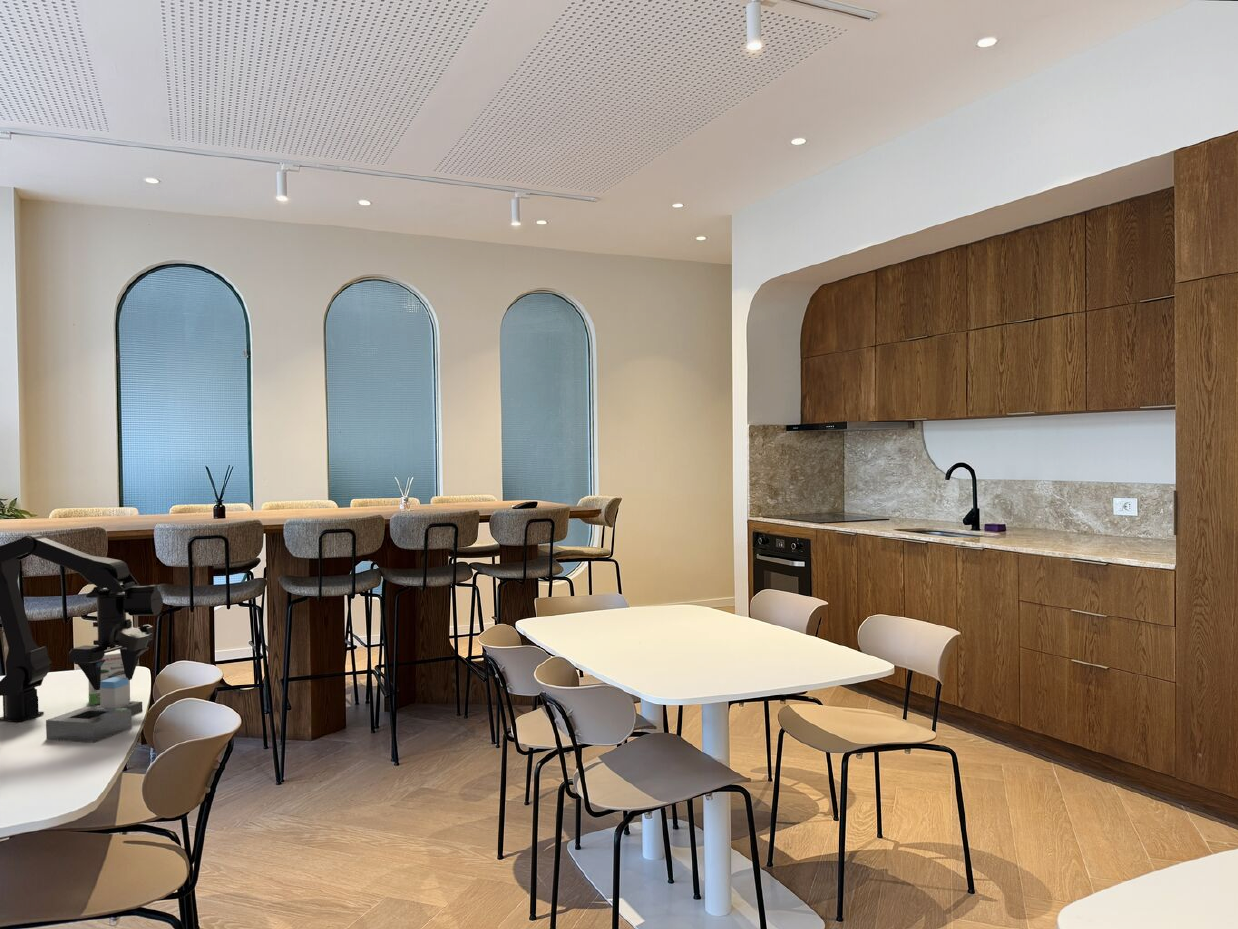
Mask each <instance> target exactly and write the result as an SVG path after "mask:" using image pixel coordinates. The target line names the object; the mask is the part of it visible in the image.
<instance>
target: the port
mask: <svg viewBox="0 0 1238 929" xmlns="http://www.w3.org/2000/svg"><path fill="white" fill-rule="evenodd" d="M132 715H133V714H131V709H127V708H119V709H117V708H99V707H96V706H84V707H81V708H77V709H75V710H72V711H68V712H66V713H64V714H60V715H58V716H54V717H52V718H48V719H46V720H45V730H46V733H45V734H46V740H51V741H66V742H67V741H68V742H77V743H78V742H80V743H92V744H93V743H96V742H99V741H103V740H104V739H106V738H109V737H112V736H115V735H116V734H117V735H118V734H120V733H122V732H125V731H127V730H130V729H132V728H133V722H132Z"/></svg>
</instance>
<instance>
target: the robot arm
mask: <svg viewBox="0 0 1238 929" xmlns="http://www.w3.org/2000/svg"><path fill="white" fill-rule="evenodd" d="M32 555H33V556H34V557H35V556H36V557H38V558H40V559H43V560H45V561H47V562H51V563H53V564H55V565H59V566H61V567H64V568H66V569H68V570H71V571H74V572H77V573H78V574H79V575H81V576H82V577H83V578H84V580H85V581H87V582H89V583H91V584H92V585H94V587H93V588H92V590H90V592H88V593H87V594H86V598H87V599H88V598H89V599H92V598H96V615H97V616H96V618H97V620H96V621H94V622H92V627H93V628H97V639H94V640H93V645H89V644H88V645H81V646H77V647H73V648H71V649H70V651H69V652H68V661H69V662H70V663H71V662H72V663H73V664H74V665H78V667H79V668H80V669H81V671H82V672H83V673H84V675H85V676H86V678H87V680H88V683H89V682H90V683H91V685H92V686H93V688H94V690H100V684H101V666H102V665H103V663H104V662H105V660H101V659H102V658H103V657H104V655H105V653H108V652H111V651H115V650H119V649H120V653H121V658H122V663H123V667H124V672H125V676H126V678H128V680H130V681H132V679H133V676H134V674H135V671H136V668H137V665H138V662H139V660H140V657H141V655H142V654H144V653H145V652H147V651H148V650H149V649H150V646H153V645H154V627H153V625H150V624H144V625H141V627H140V626H138V627H134V626H133V623H132V620H131V619H130V618H127V614H128V615H129V616H130V617H135V616H137V617H138V616H158V615H159V614H160V613H161V611H162V609H163V605H164V604H163V603H164V597H163V596H162V594H161V591H160V590H159V589H158V586H159V585H158V584H150V585H141V584H140V583H139V582H138V581H137V580H136V578H134V577H135V576H133V575H132V573H130V569H129V567H128V564H127V563H126V562H125V561H123V560H121V559H115V558H111V557H103V556H95V555H92V554H88V553H86V552H83V551H80V550H78V549H75V548H72V547H71V546H67V545H65V544H62V543H59V542H57V541H54V540H52V539H49V538H46V537H45V536H44V535H42V534H39V533H38V534H31V535H25V536H23V537H21V538H19V539H17V540H13V541H11V542H8V543H4V544H1V545H0V622H1V626H2V629H3V633H4V637H5V641H6V644H7V650H8V651H7V654H6V658H5V663H4V665H5V666H4V667H5V676H4V677H2V679H1V680H0V696H2V710H3V712H2V716H0V722H13V723H14V722H15V723H21V722H24V721H26V720H30V719H32V718H36V717H39V716H42V715H44V714H45V712H44V711H39V696H38V689H37V687H40V686H42V684H43V681H44V679H45V678H46V677H47V675H48V673H49V672H50V669H51V668H50V664H52V663H53V661H52V660H51V659H50V657H49V653H48V651H49V650H48V648H47V646H46V645H45V646H42V647H40V646H39V645H37V643H35V641H34V638H33V635H32V632H31V628H30V627H31V626H30V624H29V620H28V617H27V613H26V610H25V606H24V602H23V599H22V594H21V591H20V587H19V584H18V580H19V575H20V571H21V562H20V561H21V560H24V559H26V558H28V557H30V556H32Z"/></svg>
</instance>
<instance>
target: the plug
mask: <svg viewBox="0 0 1238 929" xmlns="http://www.w3.org/2000/svg"><path fill="white" fill-rule="evenodd" d="M129 701H130V700H129V688H128V678H122V677H112V678H109V679H106V680H103V681H101V684H100V704H99V705H100V708H117V709H118V708H121V707H124V706H127V705H129Z"/></svg>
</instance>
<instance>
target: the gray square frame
mask: <svg viewBox="0 0 1238 929" xmlns="http://www.w3.org/2000/svg"><path fill="white" fill-rule="evenodd" d="M95 707H99V708H100V704H98V705H97V706H96V705H95ZM121 708H127V709H131V714H132V715H134V714H137V713H140V712H142V711H143V701H138V700H137V701H135V700H129V705H127V706H124V707H121ZM118 709H119V708H118Z"/></svg>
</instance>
